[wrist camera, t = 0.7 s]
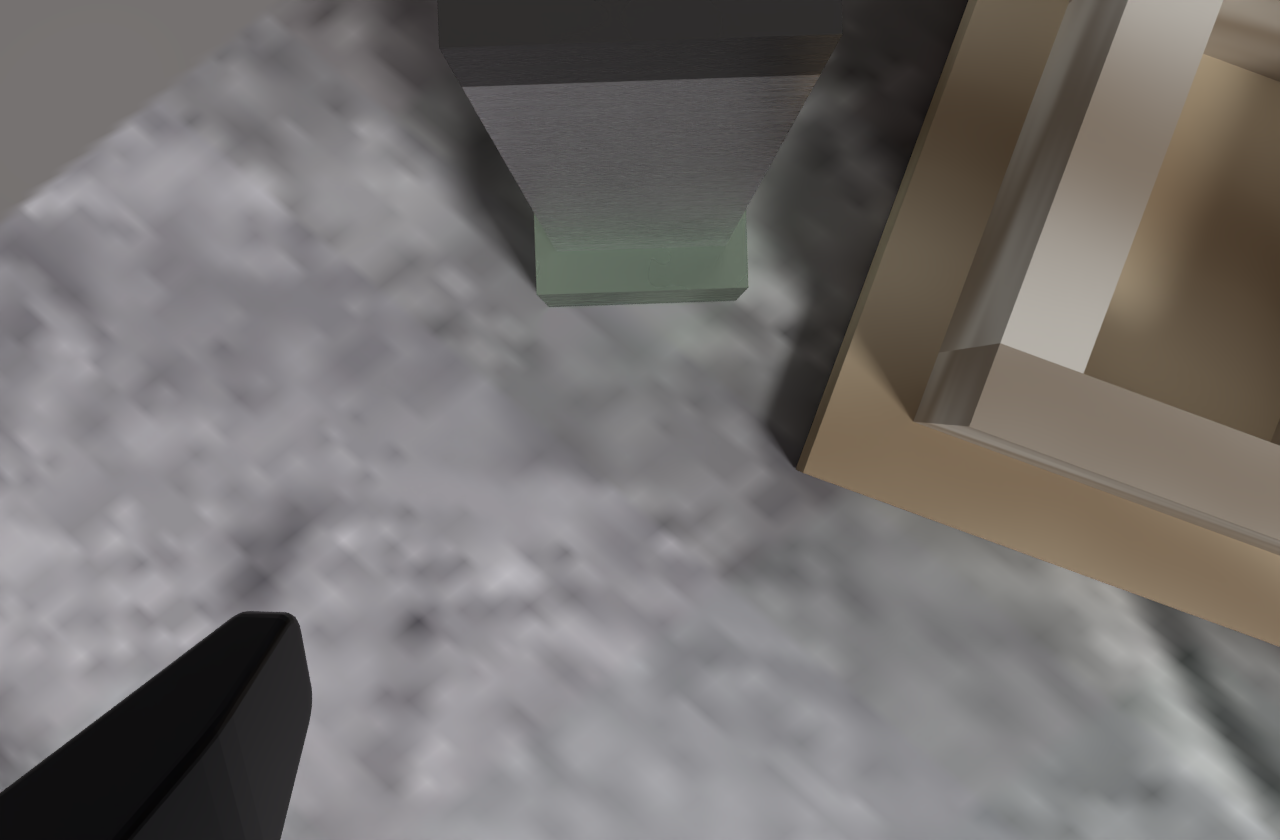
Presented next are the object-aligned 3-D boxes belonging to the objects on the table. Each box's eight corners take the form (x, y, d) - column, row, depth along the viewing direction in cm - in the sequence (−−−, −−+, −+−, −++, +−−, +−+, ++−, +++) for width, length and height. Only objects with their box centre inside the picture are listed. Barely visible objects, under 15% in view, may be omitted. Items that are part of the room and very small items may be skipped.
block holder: (1319, 660, 22) (1497, 729, 17) (795, 469, 22) (836, 487, 17) (1554, 43, 21) (1798, -51, 17) (1024, -152, 21) (1128, -301, 17)
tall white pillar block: (735, 300, 21) (896, 134, 8) (549, 306, 21) (392, 151, 8) (726, 17, 21) (874, -638, 8) (538, 24, 21) (362, -620, 8)
